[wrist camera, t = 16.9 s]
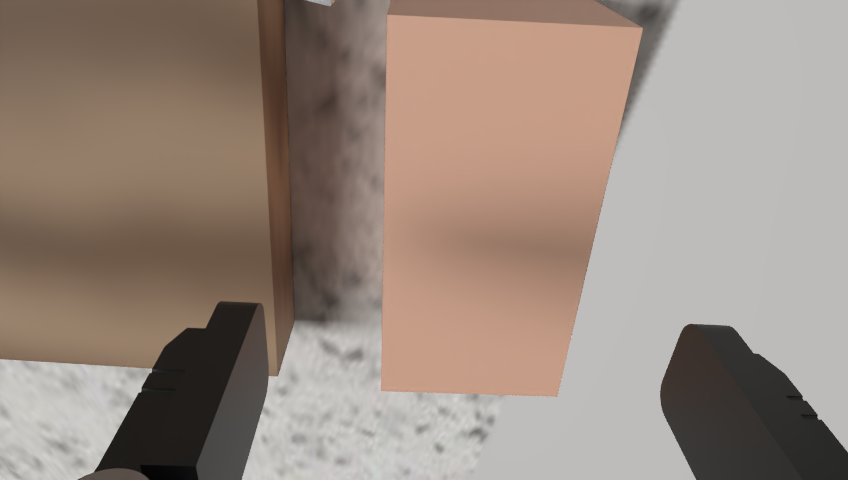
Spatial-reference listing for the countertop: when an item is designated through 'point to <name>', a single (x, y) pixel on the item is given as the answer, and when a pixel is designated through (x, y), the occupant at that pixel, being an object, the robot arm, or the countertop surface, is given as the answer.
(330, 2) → the latch key
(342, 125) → the countertop surface
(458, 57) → the cover
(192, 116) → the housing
